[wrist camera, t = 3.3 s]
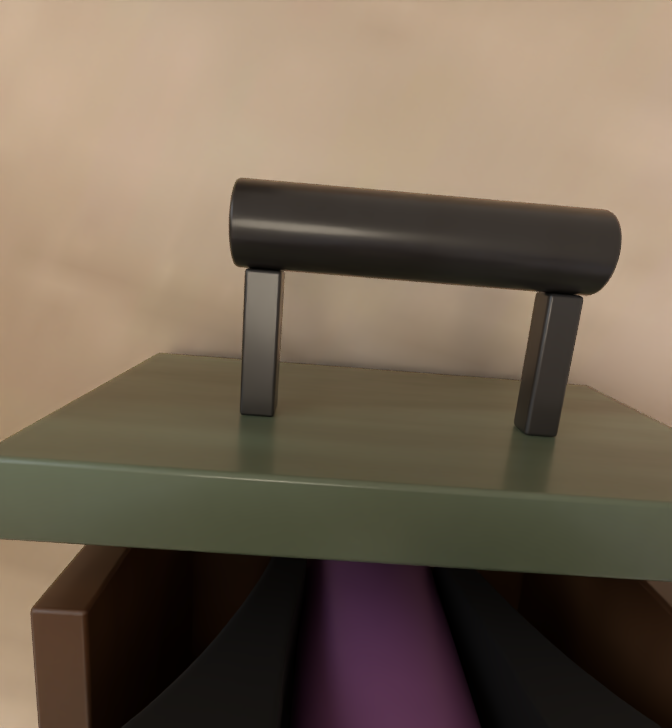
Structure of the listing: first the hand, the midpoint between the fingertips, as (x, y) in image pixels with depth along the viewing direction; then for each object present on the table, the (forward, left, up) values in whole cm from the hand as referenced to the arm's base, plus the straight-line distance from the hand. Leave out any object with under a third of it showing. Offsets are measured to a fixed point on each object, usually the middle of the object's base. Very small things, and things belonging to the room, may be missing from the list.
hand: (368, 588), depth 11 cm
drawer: (+1, 0, -3) cm, 3 cm away
